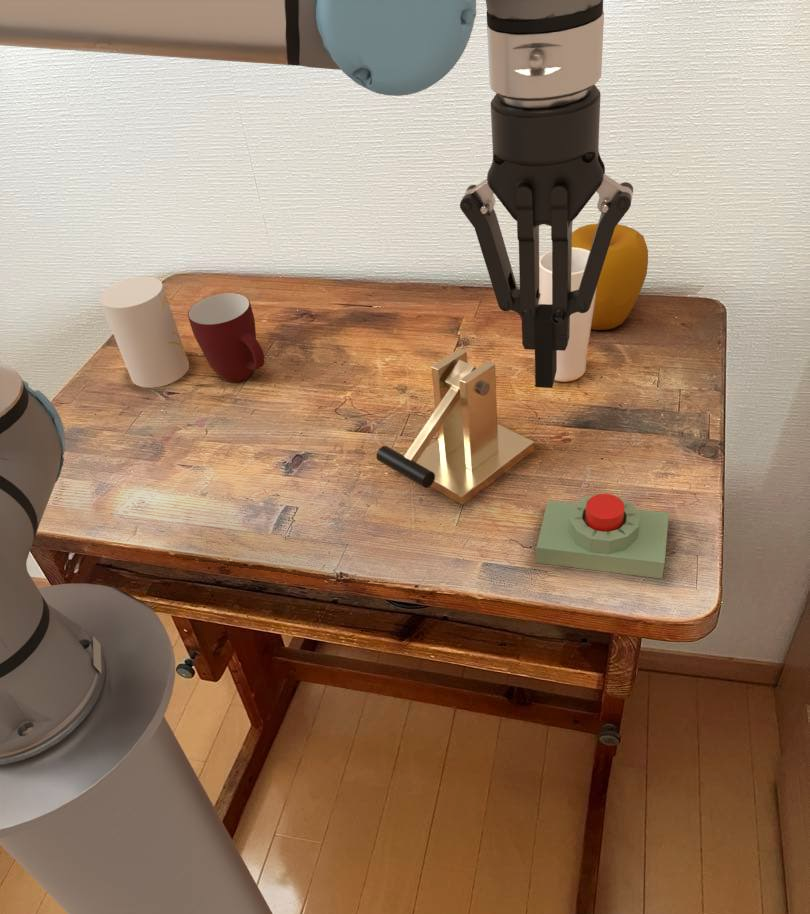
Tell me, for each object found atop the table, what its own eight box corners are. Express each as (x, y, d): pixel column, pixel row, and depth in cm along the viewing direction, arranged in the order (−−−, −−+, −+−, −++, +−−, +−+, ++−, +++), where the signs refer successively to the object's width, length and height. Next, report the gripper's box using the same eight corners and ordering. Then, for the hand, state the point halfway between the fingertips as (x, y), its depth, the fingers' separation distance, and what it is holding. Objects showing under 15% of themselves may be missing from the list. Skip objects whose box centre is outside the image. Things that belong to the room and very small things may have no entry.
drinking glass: (528, 365, 107) (528, 254, 97) (576, 352, 108) (581, 241, 98) (550, 392, 102) (553, 279, 92) (601, 378, 103) (609, 265, 93)
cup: (197, 372, 114) (171, 292, 106) (142, 394, 112) (110, 314, 103) (177, 348, 120) (150, 270, 111) (123, 369, 117) (92, 291, 109)
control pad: (536, 563, 82) (536, 534, 79) (547, 515, 87) (547, 486, 84) (662, 578, 79) (666, 549, 76) (666, 528, 84) (671, 498, 81)
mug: (293, 371, 112) (277, 303, 105) (254, 402, 108) (234, 334, 101) (236, 353, 117) (217, 287, 110) (196, 382, 113) (174, 316, 106)
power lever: (429, 492, 86) (418, 482, 84) (383, 464, 90) (372, 455, 88) (501, 385, 86) (492, 374, 84) (452, 363, 90) (442, 351, 88)
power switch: (462, 505, 89) (454, 408, 80) (404, 471, 94) (391, 376, 86) (534, 450, 95) (534, 353, 86) (475, 421, 100) (470, 326, 91)
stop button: (583, 530, 80) (583, 516, 79) (587, 505, 82) (588, 491, 81) (621, 534, 79) (622, 520, 78) (625, 508, 81) (626, 495, 80)
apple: (640, 299, 116) (649, 207, 107) (643, 341, 108) (653, 246, 99) (560, 300, 118) (562, 210, 109) (557, 341, 110) (559, 248, 101)
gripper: (440, 112, 56) (465, 399, 73) (639, 104, 53) (618, 408, 69) (463, 76, 61) (481, 352, 78) (646, 66, 58) (625, 358, 74)
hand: (546, 378), depth 73 cm, fingers closed
